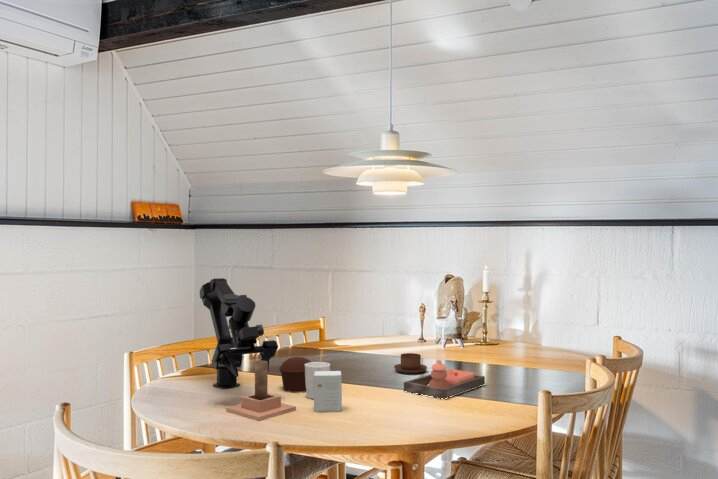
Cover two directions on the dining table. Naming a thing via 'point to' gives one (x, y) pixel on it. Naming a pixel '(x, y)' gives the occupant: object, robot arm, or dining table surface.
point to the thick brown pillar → (261, 379)
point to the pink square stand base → (260, 407)
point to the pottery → (448, 376)
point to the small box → (327, 391)
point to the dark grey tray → (421, 388)
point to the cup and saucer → (410, 363)
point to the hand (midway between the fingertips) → (252, 374)
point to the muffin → (294, 374)
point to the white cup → (309, 375)
